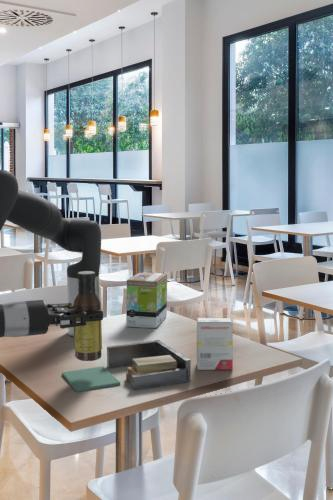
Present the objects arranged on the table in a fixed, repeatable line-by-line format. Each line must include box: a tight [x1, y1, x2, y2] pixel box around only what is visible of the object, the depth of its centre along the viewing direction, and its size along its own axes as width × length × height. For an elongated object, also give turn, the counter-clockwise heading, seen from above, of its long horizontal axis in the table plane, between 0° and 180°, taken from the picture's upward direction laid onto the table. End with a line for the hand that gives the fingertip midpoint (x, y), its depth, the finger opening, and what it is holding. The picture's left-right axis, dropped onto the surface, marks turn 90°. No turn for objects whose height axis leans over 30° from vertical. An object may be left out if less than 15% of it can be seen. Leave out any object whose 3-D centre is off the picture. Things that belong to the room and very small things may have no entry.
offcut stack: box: [125, 355, 177, 385], centre depth 136 cm, size 6×11×4 cm, turn 115°
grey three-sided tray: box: [106, 339, 192, 392], centre depth 140 cm, size 18×14×5 cm
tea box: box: [125, 272, 168, 329], centre depth 187 cm, size 15×10×15 cm, turn 168°
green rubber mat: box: [61, 366, 121, 393], centre depth 136 cm, size 12×10×1 cm
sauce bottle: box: [73, 271, 103, 362], centre depth 135 cm, size 6×6×20 cm
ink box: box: [196, 317, 234, 371], centre depth 144 cm, size 9×5×12 cm, turn 88°
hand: (97, 311), depth 136 cm, fingers closed on sauce bottle, 6 cm apart
